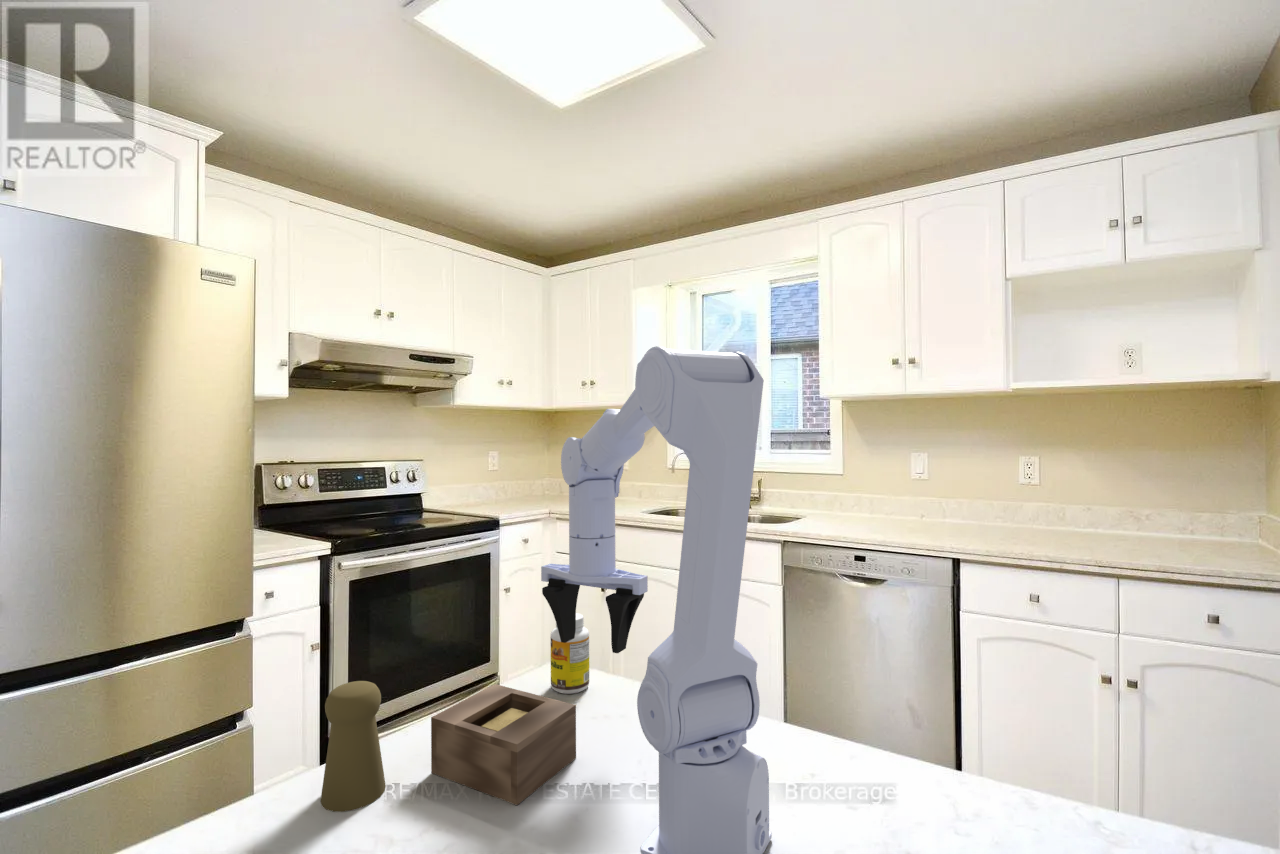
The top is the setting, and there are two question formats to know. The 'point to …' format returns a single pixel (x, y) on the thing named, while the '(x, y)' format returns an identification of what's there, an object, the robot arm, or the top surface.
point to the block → (504, 719)
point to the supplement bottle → (570, 660)
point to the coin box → (503, 742)
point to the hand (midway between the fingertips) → (592, 645)
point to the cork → (353, 748)
